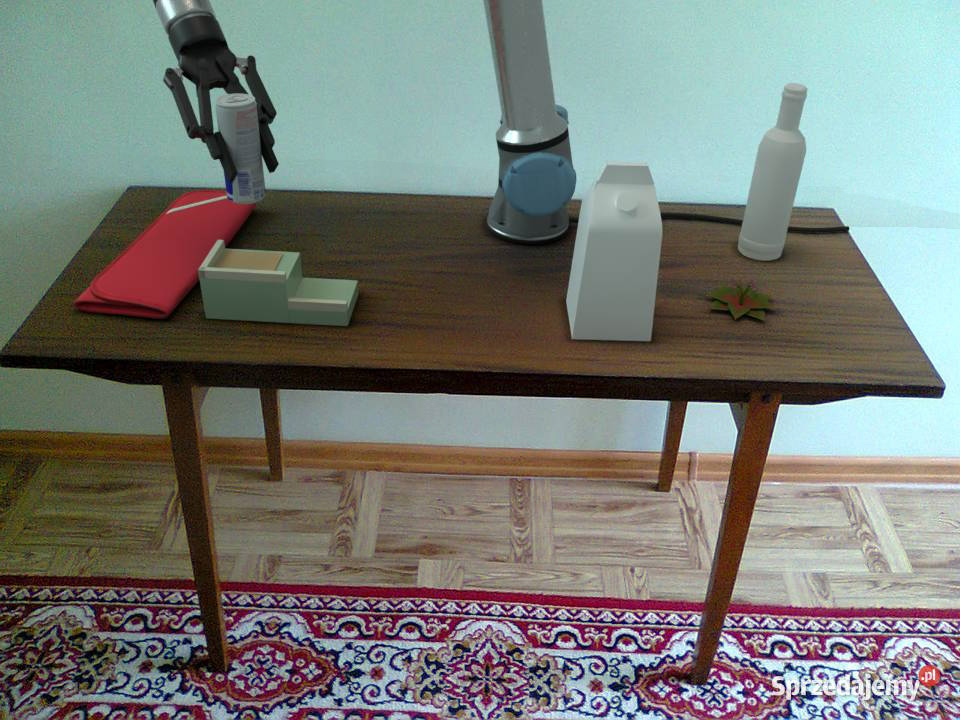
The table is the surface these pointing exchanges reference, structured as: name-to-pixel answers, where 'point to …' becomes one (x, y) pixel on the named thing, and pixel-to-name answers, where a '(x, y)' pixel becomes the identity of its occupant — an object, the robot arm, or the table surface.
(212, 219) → the dish drying mat
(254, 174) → the beverage can
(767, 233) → the bottle
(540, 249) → the table surface
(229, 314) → the green stepped stand
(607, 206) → the milk
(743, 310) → the lily flower
